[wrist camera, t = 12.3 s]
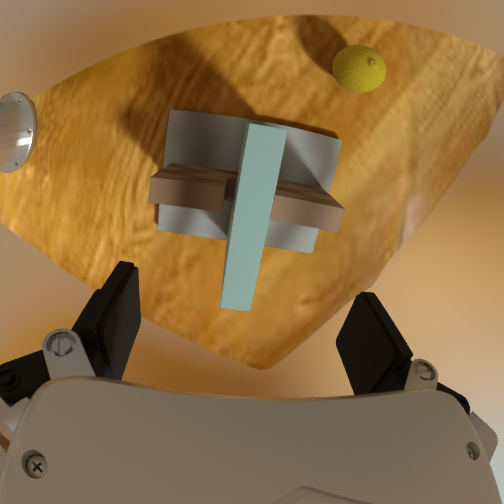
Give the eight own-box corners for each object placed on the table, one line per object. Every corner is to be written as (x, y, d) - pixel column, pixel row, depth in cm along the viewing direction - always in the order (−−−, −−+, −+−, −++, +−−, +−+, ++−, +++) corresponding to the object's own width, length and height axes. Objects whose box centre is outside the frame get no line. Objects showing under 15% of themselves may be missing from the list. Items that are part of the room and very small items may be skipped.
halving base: (160, 227, 35) (138, 260, 27) (172, 109, 28) (147, 106, 20) (310, 250, 37) (328, 287, 29) (339, 139, 30) (371, 148, 22)
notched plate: (246, 122, 28) (249, 123, 16) (267, 126, 29) (287, 130, 16) (227, 236, 35) (220, 307, 22) (246, 239, 35) (249, 311, 22)
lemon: (338, 101, 28) (366, 98, 21) (315, 62, 26) (337, 47, 19) (373, 85, 27) (407, 80, 20) (352, 47, 25) (381, 32, 18)
